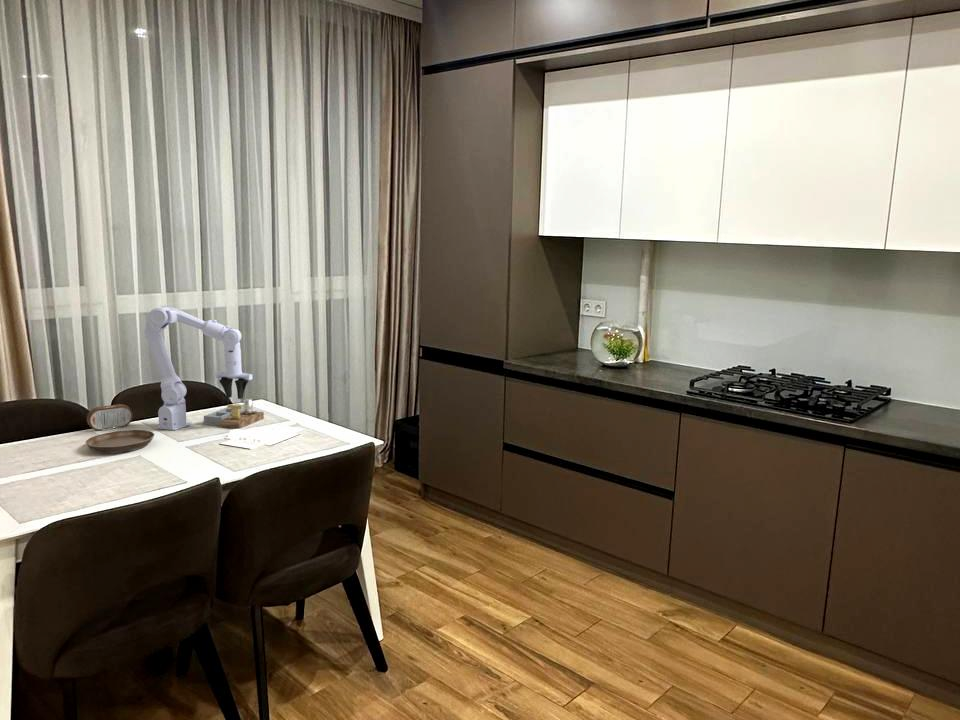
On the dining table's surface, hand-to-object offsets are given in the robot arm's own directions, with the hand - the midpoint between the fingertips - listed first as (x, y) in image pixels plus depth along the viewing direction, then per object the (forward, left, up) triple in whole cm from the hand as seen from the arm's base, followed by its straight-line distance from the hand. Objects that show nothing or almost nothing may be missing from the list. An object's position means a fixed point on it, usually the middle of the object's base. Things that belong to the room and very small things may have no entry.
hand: (234, 397), depth 269 cm
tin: (-18, +40, -11) cm, 45 cm away
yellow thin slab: (0, 0, -8) cm, 8 cm away
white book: (-10, -18, -11) cm, 23 cm away
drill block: (+4, 0, -10) cm, 11 cm away
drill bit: (+8, 0, -10) cm, 13 cm away
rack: (+8, +9, -10) cm, 16 cm away
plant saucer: (-35, +20, -11) cm, 42 cm away
